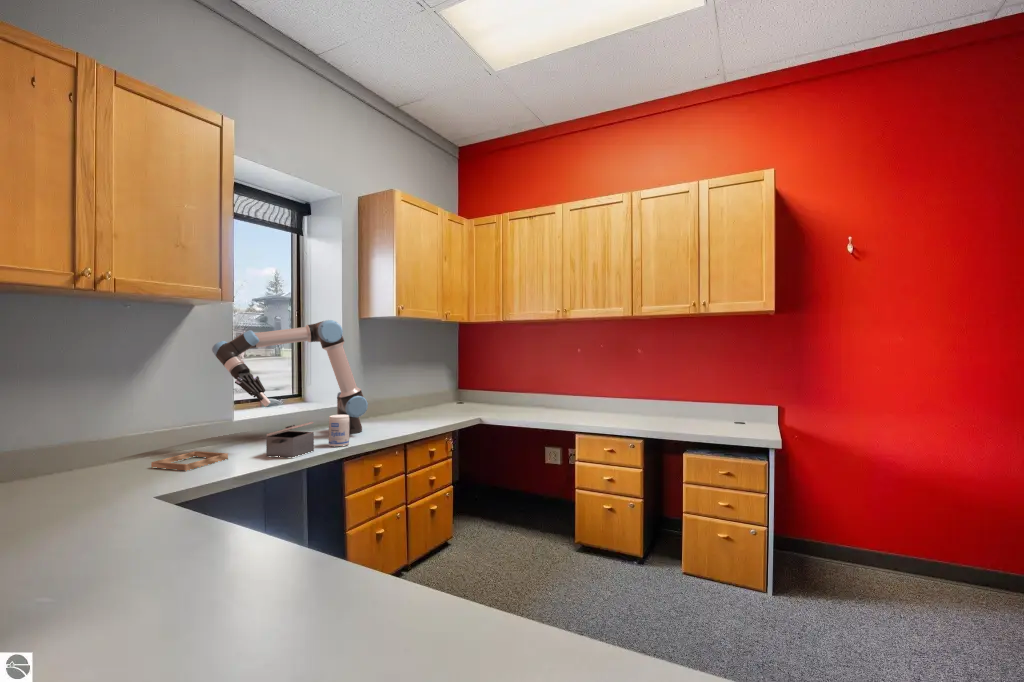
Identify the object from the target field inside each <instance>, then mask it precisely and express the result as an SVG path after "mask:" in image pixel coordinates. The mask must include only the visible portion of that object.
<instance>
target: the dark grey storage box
mask: <svg viewBox="0 0 1024 682" xmlns="http://www.w3.org/2000/svg"><path fill="white" fill-rule="evenodd" d="M314 435H315V432H314V431H299V430H288V431H284V432H281V433H277V434H273V435H269V436H267V435H266V439H265V440H266V441H265V442H266V443H265V444H266V448H265V449H266V450H265V452H266V454H265V456H278V457H277V458H279V456H280V457H295V456H298V455H302V454H305V453H307V454H309V453H308V452H310V453H312V452H311V451H313V452H314V451H315V450H314V449H315V448H314V445H315V444H314V443H315V441H314V437H315V436H314ZM305 455H306V454H305ZM302 456H303V455H302Z"/></svg>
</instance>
